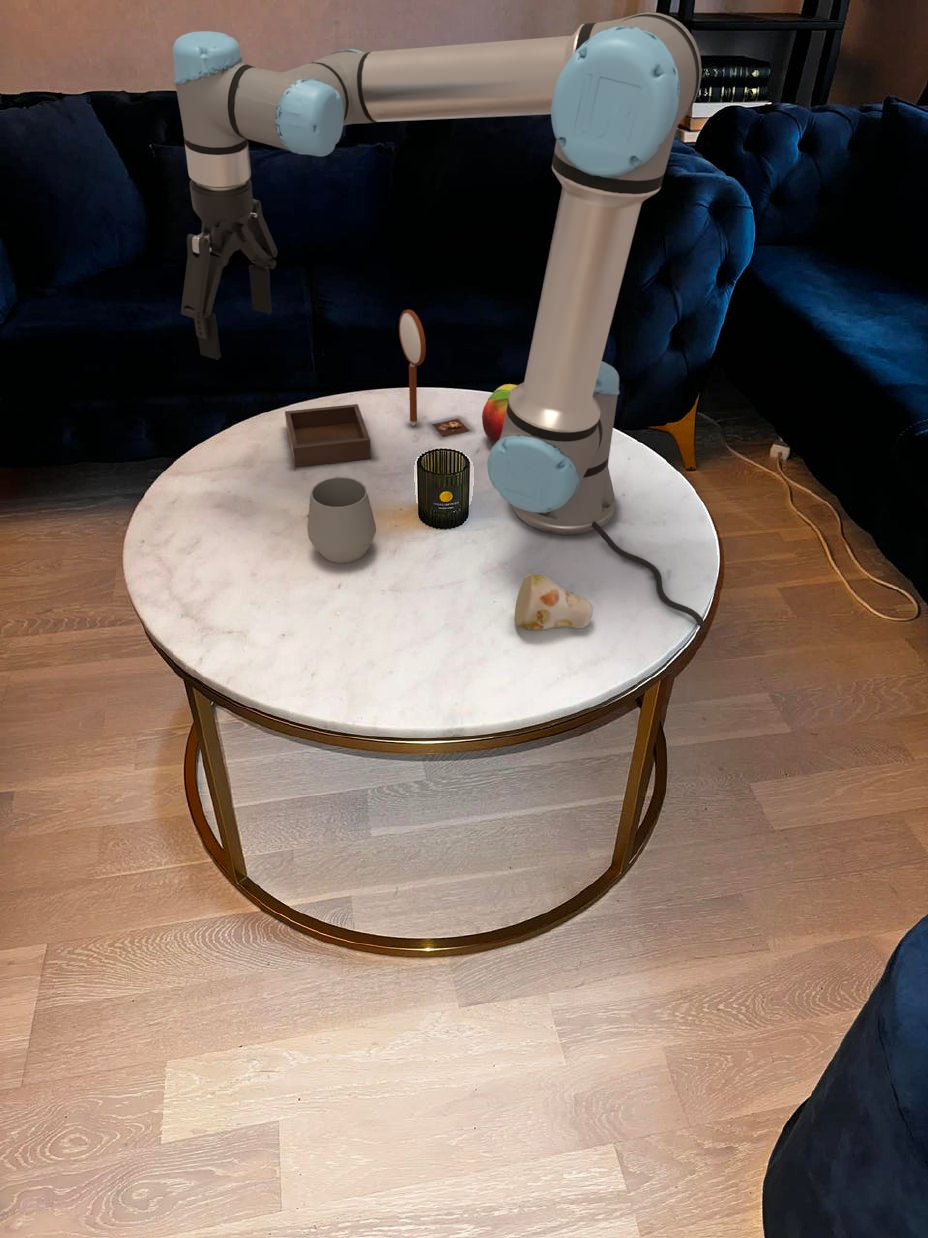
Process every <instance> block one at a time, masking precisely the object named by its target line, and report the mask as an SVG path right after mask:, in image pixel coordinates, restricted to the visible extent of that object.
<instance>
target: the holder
mask: <svg viewBox="0 0 928 1238" xmlns="http://www.w3.org/2000/svg"><path fill="white" fill-rule="evenodd" d="M284 415H285V425H286V432H287V436H288V441H289V445H290V450H291V455H292V459H293V464H294V468H303V467H310V466H318V465H319V466H320V465H327V464H328V465H329V464H336V463H338V464H339V463H345V462H354V461H355V462H356V461H362V460H371V459H372V449H371V438H370V435H369V432H368V430H367V429H368V428H367V426H366V423H365V420H364V418H363V415H362V413H361V410H360V407H359V404H358V403H354V404H344V405H334V406H325V407H315V408H303V409H294V410H286V411H284Z"/></svg>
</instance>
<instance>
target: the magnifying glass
mask: <svg viewBox="0 0 928 1238" xmlns="http://www.w3.org/2000/svg"><path fill="white" fill-rule="evenodd" d="M398 336H399V341H400V344H401V348H402V352H403V354H404V356H405V358H406V360H407V361H408V362H409V364H408V388H409V390H408V391H409V421H410V422H411V423H410V424H411V426H413V427H415V426H416V425H417V421H418V396H417V395H418V394H417V391H418V390H417V366H420V365H422V364H423V362H424V361H425V357H426V351H427V349H426V348H427V345H426V343H427V342H426V337H425V332H424V328H423V325H422V323H421V320H420V318H419V316H418V315H417V314H416V312H415V311H414V310H412V309H404V310H403V311H402V312H401V313H400V316H399V321H398Z"/></svg>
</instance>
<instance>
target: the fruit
mask: <svg viewBox="0 0 928 1238" xmlns="http://www.w3.org/2000/svg"><path fill="white" fill-rule="evenodd" d="M518 385H519V384H511V383H508V384H507V383H506V384H503V385H501V386H499V387H497V388H496V390H494V391H493V392H492V394H490V395H489V397H488V398H487V401H486V403H485V404H484V406H483V408H482V413H481V422H482V428H483V429H482V430H483V431H484V434H485V436H486V437H487V438H488V440H489V441H490V442H491V443H492V444H493V445H494V444H495V443H496V442H497V441H498V440H499V439H500V436H501V433H502V430H503V424H504V419H505V414H506V409H507V404H508V399H509V395H510V392H511V391H512V389H513V388H515V387H516V386H518Z"/></svg>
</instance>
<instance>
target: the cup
mask: <svg viewBox="0 0 928 1238" xmlns="http://www.w3.org/2000/svg"><path fill="white" fill-rule="evenodd" d="M308 505H309V506H308V516H307V528H306V529H307V535H308V539H309V541H310V542H311V544H312V545H313V546H314V547H315V549H316V551H318V552H319V553H320V555H321V556H322V557H323V558H324V559H325V560H327V561H329V562H331V563H336V564H348V563H353V562H357V561H358V560H360V559H362V557H364V555H365V554H366V553H367V551H368V550H369V548H370V546H371V545H372V543H373V542H374V538H375V535H376V533H377V524H376V521H375V517H374V513H373V509H372V506H371V505H372V504H371V501H370V498H369V493H368V490H367V487H366V485H365V484H364V483H363V482H362V481H360V480H358V479H355V478H351V477H348V476H347V477H346V476H334V477H330V478H326V479H322V480H321V481H318V483H316V484H315V485H314V486H312V488H311V491H310V494H309V504H308Z"/></svg>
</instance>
